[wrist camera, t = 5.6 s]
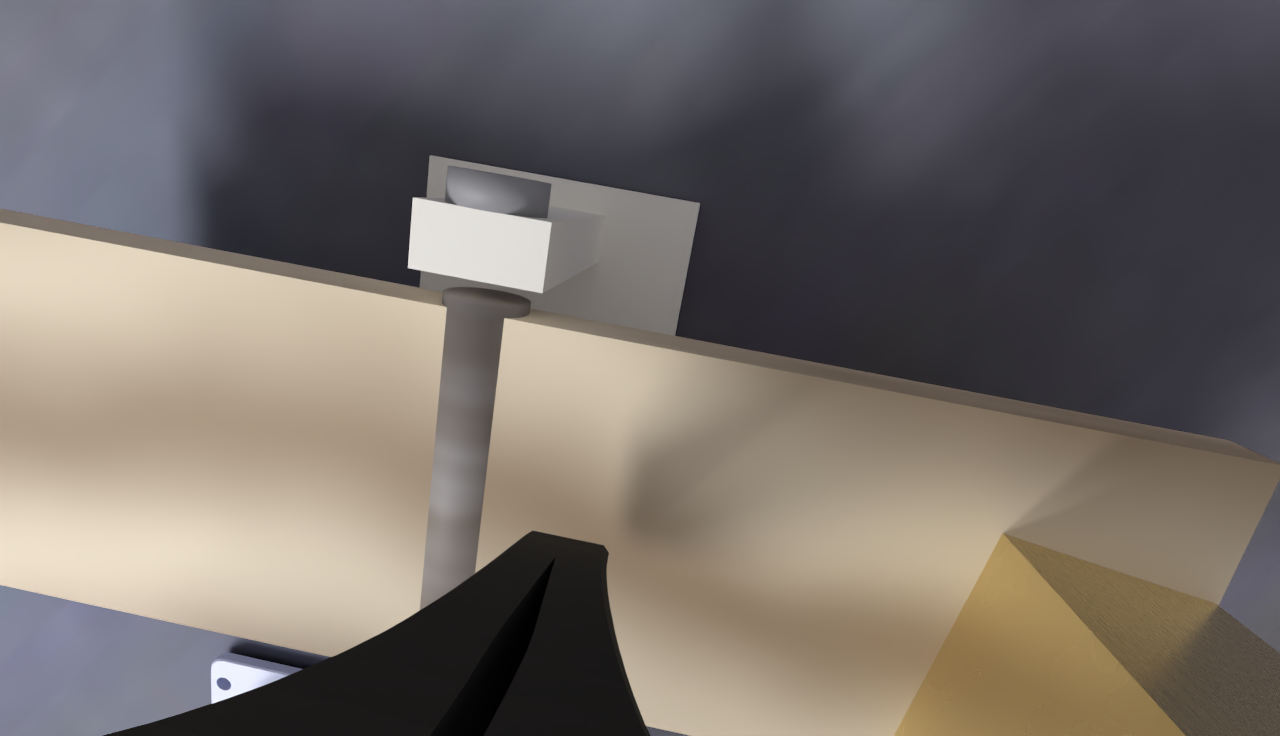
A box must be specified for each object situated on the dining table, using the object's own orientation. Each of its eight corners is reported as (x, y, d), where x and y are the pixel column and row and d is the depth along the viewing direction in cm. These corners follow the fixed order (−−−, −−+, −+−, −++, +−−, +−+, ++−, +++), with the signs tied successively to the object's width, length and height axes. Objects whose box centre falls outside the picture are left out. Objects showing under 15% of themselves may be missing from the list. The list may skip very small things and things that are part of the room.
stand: (621, 617, 20) (579, 821, 14) (410, 572, 21) (269, 748, 14) (700, 203, 17) (695, 204, 10) (445, 157, 17) (279, 129, 10)
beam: (1020, 699, 16) (1112, 844, 13) (1, 485, 18) (-182, 560, 14) (1145, 392, 14) (1302, 460, 10) (-33, 173, 15) (-264, 164, 12)
